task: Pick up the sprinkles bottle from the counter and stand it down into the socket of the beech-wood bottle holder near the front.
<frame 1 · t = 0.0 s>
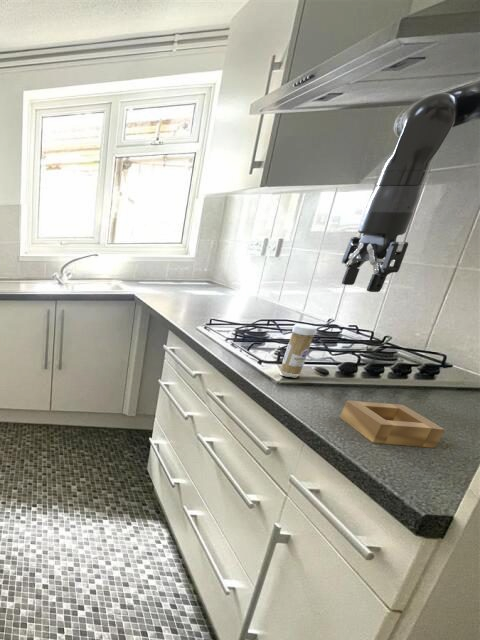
hand: (359, 287, 93), 24 cm above the countertop, tool pointing down, fingers open, 8 cm apart
holder: (384, 431, 82), on the countertop
sprinkles bottle: (288, 376, 107), on the countertop
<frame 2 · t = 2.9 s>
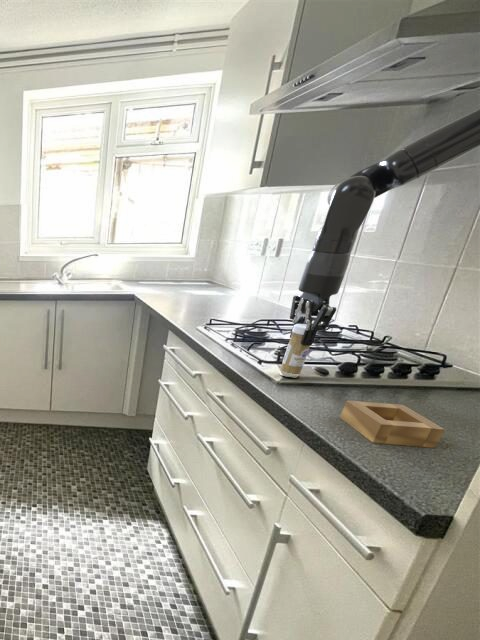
hand: (300, 341, 104), 9 cm above the countertop, tool pointing down, fingers closed on sprinkles bottle, 4 cm apart
sprinkles bottle: (288, 376, 107), on the countertop, touching gripper
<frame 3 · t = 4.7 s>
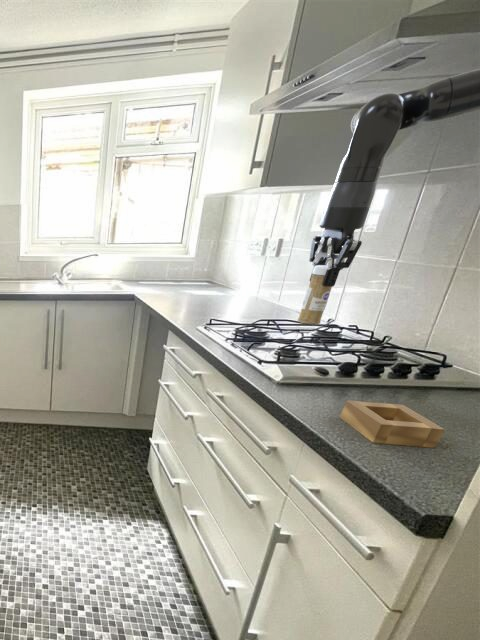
hand: (321, 283, 98), 24 cm above the countertop, tool pointing down, fingers closed on sprinkles bottle, 4 cm apart
sprinkles bottle: (307, 323, 101), point 14 cm above the countertop, touching gripper
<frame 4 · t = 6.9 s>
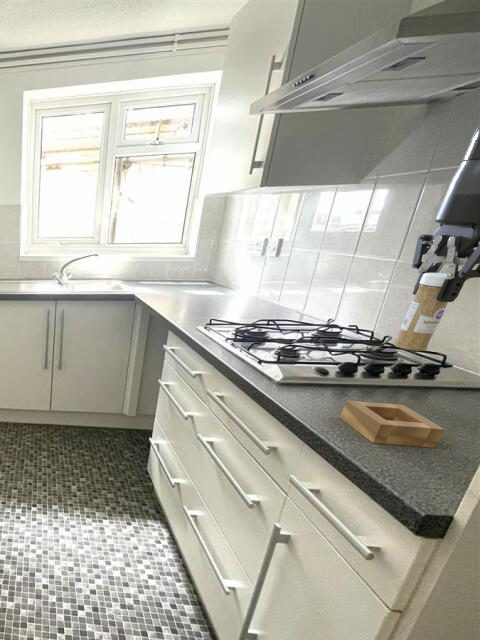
hand: (432, 297, 73), 26 cm above the countertop, tool pointing down, fingers closed on sprinkles bottle, 4 cm apart
sprinkles bottle: (408, 348, 77), point 16 cm above the countertop, touching gripper
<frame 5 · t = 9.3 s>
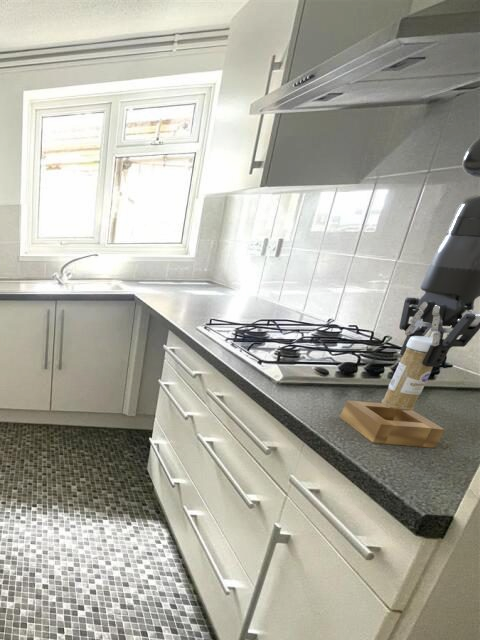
hand: (418, 360, 75), 15 cm above the countertop, tool pointing down, fingers closed on sprinkles bottle, 4 cm apart
sprinkles bottle: (396, 407, 79), point 5 cm above the countertop, touching gripper
when the fingers open (9 cm above the countertop, at t = 11.2 s): sprinkles bottle stays where it is, resting in holder.
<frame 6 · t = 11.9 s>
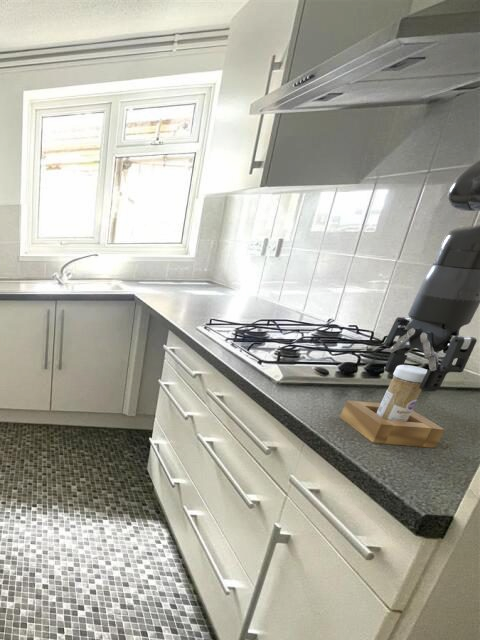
hand: (408, 380, 77), 11 cm above the countertop, tool pointing down, fingers open, 8 cm apart
sprinkles bottle: (383, 432, 82), resting in holder
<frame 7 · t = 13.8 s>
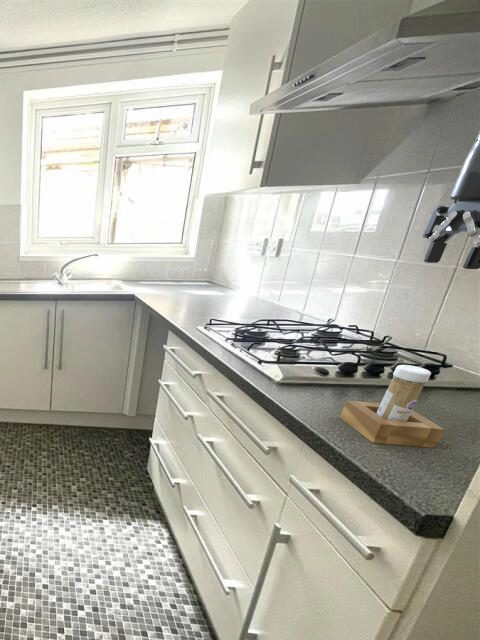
hand: (449, 265, 79), 30 cm above the countertop, tool pointing down, fingers open, 8 cm apart
nothing on the countertop moved.
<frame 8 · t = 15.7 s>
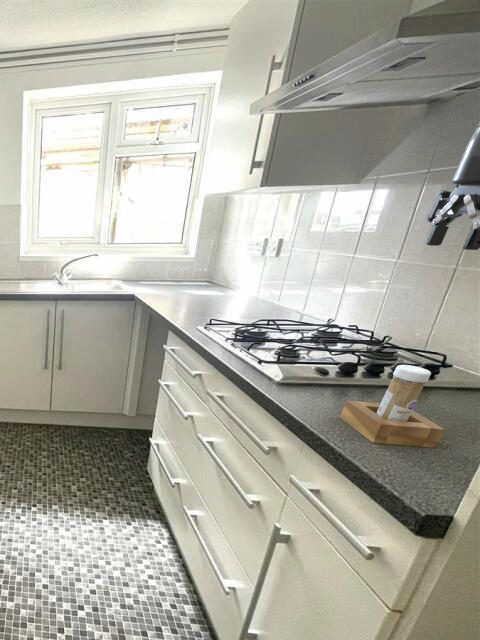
hand: (450, 247, 82), 33 cm above the countertop, tool pointing down, fingers open, 8 cm apart
nothing on the countertop moved.
at the end: sprinkles bottle 0.0 cm off-centre in the holder, point 0.0 cm above the holder's base; sprinkles bottle tilted 0°; the gripper is holding nothing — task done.
